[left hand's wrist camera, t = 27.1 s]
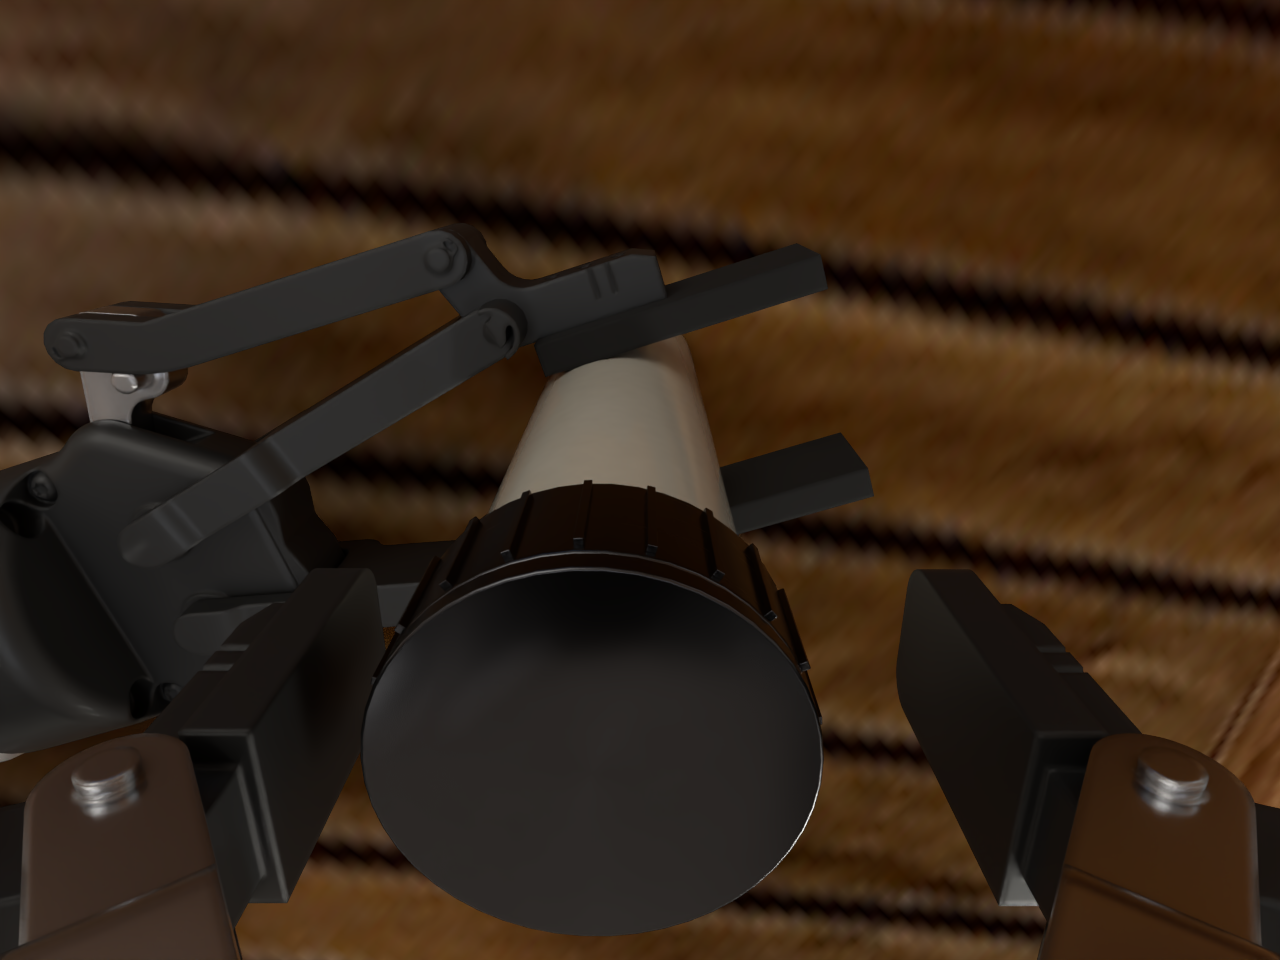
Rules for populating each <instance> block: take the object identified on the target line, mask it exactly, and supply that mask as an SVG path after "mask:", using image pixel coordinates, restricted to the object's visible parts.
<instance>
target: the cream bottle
mask: <svg viewBox="0 0 1280 960" xmlns="http://www.w3.org/2000/svg"><path fill="white" fill-rule="evenodd" d="M584 480H593V484H619V485H627V486H635V487H641V488H645V489H646V488H647V486H653V487H656V491H657V492H660V493H664V494H667V495H670V496H672V497H675V498H677V499H680V500H683V501H685V502H688V503H690V504H692V505H694V506H695V507H697V508H699V509H701V510H704V509H705V508H708V509H710V510H711V511H713V516H714V517H715V518H716V519H717V520H719V521H720V522H722V523H723V524H724V525H726V526H727V527H728V528H730V529H731V530H732V531H733V532H735V533H736V530H735V526H734V522H733V518H732V514H731V510H730V506H729V502H728V498H727V494H726V490H725V486H724V482H723V478H722V474H721V471H720V467H719V463H718V459H717V455H716V451H715V447H714V443H713V439H712V435H711V431H710V427H709V423H708V419H707V415H706V412H705V408H704V404H703V400H702V396H701V392H700V388H699V384H698V380H697V376H696V372H695V368H694V364H693V360H692V357H691V353H690V350H689V347H688V345H687V342H686V341H685V339H684V337H683V335H678V336H675V337H672V338H669V339H666V340H662V341H659V342H656V343H653V344H650V345H646V346H643V347H640V348H637V349H634V350H630V351H627V352H624V353H621V354H618V355H614V356H611V357H608V358H605V359H602V360H598V361H595V362H592V363H589V364H585V365H582V366H579V367H576V368H573V369H570V370H566V371H563V372H560V373H557V374H554V375H550V376H549V377H548V380H547V382H546V384H545V386H544V388H543V391H542V393H541V395H540V397H539V400H538V402H537V404H536V406H535V409H534V411H533V413H532V415H531V418H530V420H529V422H528V424H527V427H526V429H525V431H524V433H523V436H522V438H521V440H520V442H519V445H518V447H517V449H516V451H515V454H514V456H513V458H512V460H511V463H510V465H509V467H508V469H507V472H506V474H505V476H504V478H503V481H502V483H501V485H500V487H499V490H498V492H497V494H496V496H495V499H494V501H493V503H492V505H491V508H490V510H489V512H488V514H489V513H490V512H492V511H494V510H496V509H498V508H500V507H501V506H503V505H505V504H507V503H509V502H511V501H514V500H516V499H519V498H521V495H522V493H523V492H525V491H528V490H530V491H531V493H535V492H539V491H543V490H547V489H551V488H556V487H561V486H569V485H577V484H583V482H584ZM736 534H737V533H736Z"/></svg>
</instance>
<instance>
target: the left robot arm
mask: <svg viewBox="0 0 1280 960" xmlns="http://www.w3.org/2000/svg"><path fill="white" fill-rule="evenodd" d="M385 651H386V649H385V642H384V634H383V627H382V620H381V613H380V605H379V598H378V591H377V584H376V580H375V577H374V574H373V572H372V571H371V570H370V569H368V568H315V569H313V570H312V571H311V572H310V573H309V574H308V575H307V576H306V577H305V579H304V580H303V581H302V582H301V583H300V585H299V586H298V587H297V588H296V589H295V591H294V592H293V593H292V594H291V596H290V597H289V598H288V599H287V600H286V602H285V603H272V604H271V605H269V606H268V607H266V608H264V609H263V610H261V611H259V612H258V613H256V614H254V615H253V616H251V617H250V618H248V619H246V620H245V621H243V622H241V623H240V624H239V625H238V627H237V628H236V629H235V630H234V631H233V632H232V633H231V635H230V636H229V637H228V638H227V639H226V640H225V641H224V642H223V644H222V645H221V646H220V651H215V653H214V654H213V655H212V656H211V657H210V658H209V659H208V660H207V662H206V663H205V664H204V665H203V670H202V671H198V672H197V673H196V674H195V675H194V676H193V677H192V679H191V680H190V681H189V682H188V683H187V684H186V685H185V686H184V688H183V689H182V690H181V691H180V692H179V693H178V694H177V696H176V697H175V698H174V699H173V700H172V701H171V702H170V703H169V705H168V706H167V707H166V708H165V709H164V710H163V711H162V712H161V714H160V715H159V716H158V717H157V718H156V719H155V720H154V721H153V723H152V724H151V725H150V726H149V727H148V728H147V729H146V731H145V732H144V733H143V734H134V735H129V736H124V737H119V738H116V739H112V740H109V741H106V742H103V743H100V744H97V745H95V746H92V747H90V748H88V749H86V750H83V751H81V752H79V753H77V754H76V755H74V756H72V757H70V758H68V759H67V760H65V761H64V762H62V763H61V764H59V765H58V766H56V767H55V768H54V769H52V770H51V771H50V772H49V773H48V774H46V775H45V776H44V777H43V778H42V779H41V780H40V781H39V782H38V783H37V784H36V786H35V787H34V788H33V790H32V791H31V792H30V794H29V796H28V798H27V800H26V802H24V803H19V804H14V805H10V806H5V807H0V960H243V958H242V954H241V950H240V945H239V941H238V938H237V934H236V930H235V926H236V925H237V923H238V921H239V919H240V917H241V915H242V913H243V911H244V910H245V908H246V906H247V904H248V903H287V902H288V900H289V898H290V896H291V894H292V892H293V890H294V888H295V886H296V884H297V881H298V879H299V877H300V875H301V873H302V871H303V869H304V867H305V865H306V863H307V861H308V859H309V857H310V855H311V852H312V850H313V848H314V846H315V844H316V842H317V840H318V838H319V836H320V834H321V832H322V830H323V828H324V826H325V823H326V821H327V819H328V817H329V815H330V813H331V811H332V809H333V807H334V805H335V803H336V801H337V799H338V797H339V794H340V792H341V790H342V788H343V786H344V784H345V782H346V780H347V778H348V776H349V774H350V772H351V770H352V768H353V765H354V763H355V761H356V759H357V757H358V755H359V753H360V751H361V728H362V722H363V716H364V710H365V706H366V704H367V701H368V698H369V695H370V692H371V689H372V686H373V685H372V684H370V683H371V679H372V676H373V674H374V672H375V670H376V668H377V667H378V665H379V663H380V661H381V659H382V657H383V655H384V653H385ZM896 678H897V689H898V694H899V699H900V703H901V706H902V708H903V711H904V713H905V715H906V717H907V719H908V721H909V723H910V725H911V727H912V729H913V731H914V733H915V735H916V737H917V739H918V741H919V743H920V745H921V747H922V750H923V752H924V754H925V756H926V758H927V760H928V762H929V764H930V766H931V768H932V770H933V772H934V774H935V776H936V778H937V780H938V782H939V784H940V786H941V788H942V790H943V792H944V794H945V797H946V799H947V801H948V803H949V805H950V807H951V809H952V811H953V813H954V815H955V817H956V819H957V821H958V823H959V825H960V827H961V829H962V831H963V833H964V835H965V837H966V839H967V841H968V844H969V846H970V848H971V850H972V852H973V854H974V856H975V858H976V860H977V862H978V864H979V866H980V868H981V870H982V872H983V874H984V876H985V878H986V880H987V882H988V884H989V886H990V888H991V891H992V893H993V895H994V897H995V899H996V901H997V903H998V905H999V906H1039V908H1040V910H1041V911H1042V913H1043V915H1044V917H1045V919H1046V921H1047V922H1046V926H1045V930H1044V934H1043V938H1042V941H1041V945H1040V950H1039V954H1038V958H1037V960H1280V809H1279V808H1275V807H1270V806H1265V805H1261V804H1257V803H1254V800H1253V798H1252V796H1251V794H1250V792H1249V791H1248V790H1247V788H1246V787H1245V786H1244V784H1243V783H1242V782H1241V781H1240V780H1239V779H1238V778H1237V777H1236V776H1235V775H1234V774H1232V773H1231V772H1230V771H1229V770H1228V769H1226V768H1225V767H1224V766H1222V765H1221V764H1219V763H1218V762H1216V761H1215V760H1213V759H1212V758H1210V757H1208V756H1206V755H1204V754H1203V753H1201V752H1199V751H1197V750H1194V749H1192V748H1190V747H1188V746H1185V745H1183V744H1180V743H1177V742H1174V741H1171V740H1168V739H1164V738H1161V737H1156V736H1151V735H1146V734H1142V733H1141V732H1140V731H1139V730H1138V728H1137V727H1136V726H1135V725H1134V724H1133V723H1132V722H1131V721H1130V720H1129V718H1128V717H1127V716H1126V715H1125V714H1124V713H1123V712H1122V711H1121V709H1120V708H1119V707H1118V706H1117V705H1116V704H1115V703H1114V702H1113V701H1112V699H1111V698H1110V697H1109V696H1108V695H1107V694H1106V693H1105V692H1104V690H1103V689H1102V688H1101V687H1100V686H1099V685H1098V684H1097V683H1096V682H1095V680H1094V679H1093V678H1092V677H1091V676H1090V675H1089V674H1088V673H1084V672H1083V667H1082V666H1081V665H1080V664H1079V663H1078V661H1077V660H1076V659H1075V658H1074V657H1073V656H1072V655H1071V654H1070V652H1065V647H1064V646H1063V645H1062V643H1061V642H1060V641H1059V640H1058V639H1057V638H1056V637H1055V636H1054V635H1053V633H1052V632H1051V631H1050V630H1049V629H1048V628H1047V627H1046V626H1045V624H1043V623H1041V622H1040V621H1038V620H1037V619H1035V618H1033V617H1032V616H1030V615H1028V614H1027V613H1025V612H1023V611H1022V610H1020V609H1018V608H1017V607H1015V606H1014V605H1012V604H1000V603H999V602H998V600H997V599H996V598H995V597H994V596H993V594H992V593H991V592H990V591H989V590H988V588H987V587H986V586H985V585H984V584H983V582H982V581H981V580H980V579H979V578H978V576H977V575H976V574H975V573H974V572H973V571H971V570H968V569H917V570H915V571H913V573H912V574H911V576H910V579H909V582H908V587H907V594H906V601H905V608H904V615H903V622H902V630H901V637H900V644H899V651H898V658H897V668H896Z"/></svg>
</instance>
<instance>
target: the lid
mask: <svg viewBox="0 0 1280 960" xmlns="http://www.w3.org/2000/svg"><path fill="white" fill-rule="evenodd" d="M394 631H396V633H395V634H394V636H393V638H392V640H391V642H390V644H389V646H388V648H387V650H386V651H385V653H384V655H383V657H382V659H381V661H380V663H379V665H378V667H377V668H376V670H375V672H374V674H373V676H372V679H371V683H370V684H372V685H373V686H372V689H371V692H370V695H369V698H368V701H367V704H366V706H365V710H364V716H363V722H362V728H361V764H362V770H363V776H364V782H365V786H366V789H367V792H368V795H369V798H370V801H371V804H372V807H373V808H374V810H375V812H376V814H377V816H378V818H379V820H380V822H381V824H382V826H383V828H384V830H385V831H386V832H387V834H388V835H389V837H390V838H391V840H392V841H393V843H394V844H395V845H396V847H397V848H398V849H399V850H400V852H401V853H402V854H403V855H404V856H405V857H406V858H407V859H408V860H409V861H410V863H411V864H412V865H413V866H414V867H415V868H416V869H418V870H419V871H420V872H421V873H422V874H423V875H424V876H426V877H427V878H428V879H429V880H430V881H431V882H433V883H434V884H435V885H437V886H438V887H440V888H441V889H443V890H444V891H446V892H447V893H449V894H450V895H451V896H453V897H454V898H456V899H458V900H460V901H462V902H464V903H466V904H467V905H469V906H471V907H473V908H475V909H477V910H479V911H481V912H484V913H486V914H489V915H491V916H493V917H496V918H498V919H501V920H503V921H507V922H510V923H513V924H517V925H520V926H524V927H527V928H531V929H536V930H541V931H547V932H552V933H558V934H568V935H578V936H616V935H628V934H638V933H643V932H648V931H654V930H659V929H664V928H668V927H671V926H674V925H678V924H681V923H685V922H688V921H691V920H693V919H696V918H698V917H701V916H703V915H706V914H708V913H711V912H713V911H715V910H717V909H719V908H720V907H722V906H724V905H726V904H728V903H730V902H732V901H733V900H735V899H737V898H738V897H740V896H741V895H743V894H744V893H746V892H747V891H748V890H750V889H751V888H753V887H754V886H756V885H757V884H758V883H759V882H760V881H761V880H763V879H764V878H765V877H766V876H767V875H768V874H769V873H770V872H772V871H773V870H774V869H775V868H776V867H777V866H778V864H779V863H780V862H781V861H782V860H783V859H784V857H785V856H786V855H787V854H788V853H789V852H790V851H791V849H792V848H793V846H794V845H795V843H796V842H797V840H798V838H799V837H800V835H801V834H802V832H803V831H804V829H805V827H806V825H807V822H808V820H809V818H810V816H811V814H812V811H813V809H814V807H815V803H816V799H817V796H818V792H819V789H820V785H821V779H822V770H823V762H824V754H823V735H822V730H821V726H820V725H821V724H822V716H821V713H820V710H819V706H818V703H817V700H816V697H815V694H814V691H813V688H812V685H811V682H810V679H809V676H808V673H807V670H809V669H810V665H809V662H808V659H807V656H806V653H805V650H804V647H803V644H802V641H801V638H800V635H799V632H798V629H797V626H796V623H795V620H794V617H793V614H792V611H791V608H790V605H789V602H788V599H787V596H786V593H785V591H784V589H780V590H777V588H776V585H775V583H774V581H773V580H772V578H771V576H770V575H769V573H768V571H767V569H766V568H765V566H764V564H763V563H762V562H761V559H760V555H759V552H758V549H757V547H756V546H755V545H754V544H753V543H752V544H751V545H749V546H748V545H747V544H746V543H745V542H744V541H743V540H742V539H741V538H740V537H739V536H738V535H737V534H736V533H735V532H733V531H732V530H731V529H730V528H728V527H727V526H726V525H724V524H723V523H722V522H720V521H719V520H717V519H716V518H715V517H714V516H713V511H711V510H710V509H708V508H705V509H704V510H701V509H699V508H697V507H695V506H694V505H692V504H690V503H688V502H685V501H683V500H680V499H677V498H675V497H672V496H670V495H667V494H664V493H660V492H657V491H656V487H653V486H647V488H646V489H645V488H641V487H635V486H627V485H619V484H593V480H584V482H583V484H577V485H569V486H561V487H556V488H551V489H547V490H543V491H539V492H535V493H531V491H530V490H528V491H525V492H523V493H522V495H521V498H519V499H516V500H514V501H511V502H509V503H507V504H505V505H503V506H501V507H500V508H498V509H496V510H494V511H492V512H490V513H489V514H487V515H485V516H484V517H483V518H481V519H480V520H479V519H478V518H477V517H474V518H473V519H471V520H470V521H469V523H468V525H467V527H466V530H465V532H464V533H463V534H461V535H460V536H459V537H458V538H457V539H456V540H455V541H454V542H453V543H452V544H451V545H450V547H449V548H448V549H447V550H446V552H445V553H444V554H443V556H442V557H441V558H439V557H437V556H436V555H435V556H434V557H433V559H432V560H431V562H430V564H429V566H428V568H427V570H426V571H425V573H424V575H423V577H422V579H421V581H420V583H419V584H418V586H417V588H416V590H415V592H414V594H413V596H412V598H411V599H410V601H409V603H408V605H407V607H406V609H405V611H404V613H403V614H402V616H401V618H400V620H399V622H398V624H397V626H396V627H395V629H394Z"/></svg>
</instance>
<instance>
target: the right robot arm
mask: <svg viewBox="0 0 1280 960" xmlns="http://www.w3.org/2000/svg"><path fill="white" fill-rule="evenodd" d="M826 289H828V287H827V283H826V278H825V274H824V269H823V265H822V260H821V256H820V254H818V253H816V252H814V251H812V250H810V249H807V248H805V247H803V246H801V245H799V244H797V243H796V244H793V245H790V246H787V247H784V248H781V249H778V250H775V251H771V252H768V253H765V254H762V255H759V256H756V257H753V258H750V259H746V260H743V261H740V262H737V263H734V264H731V265H728V266H725V267H721V268H718V269H715V270H712V271H709V272H706V273H703V274H700V275H696V276H693V277H690V278H687V279H684V280H681V281H678V282H675V283H671V284H668V285H664V281H663V278H662V275H661V271H660V268H659V265H658V261H657V258H656V254H655V251H654V250H646V249H634V248H631V249H628V250H625V251H622V252H619V253H616V254H613V255H610V256H607V257H604V258H601V259H598V260H595V261H592V262H588V263H585V264H582V265H579V266H576V267H573V268H570V269H567V270H564V271H561V272H558V273H555V274H552V275H549V276H546V277H543V278H539V279H534V280H527V279H522V278H518V277H516V276H514V275H512V274H511V273H509V272H508V271H507V270H506V269H505V268H504V267H503V266H502V265H501V263H500V262H499V261H498V260H497V258H496V257H495V256H494V255H493V253H492V252H491V251H490V250H489V248H488V247H487V245H486V241H485V239H484V237H483V235H482V234H481V232H480V231H478V230H477V229H476V228H475V227H474V226H471V225H468V224H465V223H457V224H452V225H448V226H445V227H442V228H438V229H435V230H432V231H428V232H425V233H422V234H419V235H416V236H413V237H410V238H406V239H403V240H400V241H397V242H394V243H391V244H388V245H384V246H381V247H378V248H375V249H372V250H369V251H366V252H362V253H359V254H356V255H353V256H350V257H347V258H344V259H340V260H337V261H334V262H331V263H328V264H325V265H322V266H319V267H315V268H312V269H309V270H306V271H303V272H300V273H297V274H293V275H290V276H287V277H284V278H281V279H278V280H275V281H271V282H268V283H265V284H262V285H259V286H256V287H253V288H249V289H246V290H243V291H240V292H237V293H234V294H231V295H227V296H224V297H221V298H218V299H215V300H212V301H209V302H205V303H202V304H199V305H186V304H169V303H153V302H137V301H128V302H121V303H117V304H114V305H110V306H106V307H101V308H98V309H94V310H90V311H86V312H82V313H79V314H75V315H71V316H67V317H63V318H60V319H56V320H54V321H53V322H51V323H50V324H48V326H47V328H46V330H45V332H44V345H45V347H46V350H47V352H48V354H49V355H50V356H51V357H52V359H53V360H54V361H55V362H56V363H58V364H59V365H61V366H62V367H64V368H66V369H70V370H74V371H80V374H81V378H82V383H83V388H84V393H85V398H86V403H87V408H88V413H89V418H90V423H88V424H85V425H84V426H82V427H81V428H79V429H78V430H77V431H75V432H74V433H73V434H72V435H71V437H70V438H69V440H68V441H67V443H66V444H65V446H64V447H63V448H62V449H61V450H60V451H59V452H56V453H53V454H50V455H47V456H44V457H41V458H38V459H35V460H31V461H28V462H25V463H22V464H19V465H16V466H13V467H10V468H7V469H4V470H1V471H0V762H3V761H7V760H11V759H13V758H15V757H17V756H19V755H21V754H23V753H29V752H34V751H38V750H43V749H47V748H51V747H54V746H58V745H61V744H65V743H69V742H72V741H76V740H79V739H83V738H87V737H90V736H94V735H97V734H101V733H105V732H108V731H112V730H115V729H119V728H123V727H126V726H130V725H133V724H137V723H140V722H143V721H146V720H148V719H151V718H154V717H156V716H159V715H160V714H161V712H162V711H163V710H164V709H165V708H166V707H167V706H168V705H169V703H170V702H171V701H172V700H173V699H174V698H175V697H176V696H177V694H178V693H179V692H180V691H181V690H182V689H183V688H184V686H185V685H186V684H187V683H188V682H189V681H190V680H191V679H192V677H193V676H194V675H195V674H196V673H197V672H198V671H202V670H203V665H204V664H205V663H206V662H207V660H208V659H209V658H210V657H211V656H212V655H213V654H214V653H215V651H220V646H221V645H222V644H223V642H224V641H225V640H226V639H227V638H228V637H229V636H230V635H231V633H232V632H233V631H234V630H235V629H236V628H237V627H238V625H239V624H240V623H241V622H243V621H245V620H246V619H248V618H250V617H251V616H253V615H254V614H256V613H258V612H259V611H261V610H263V609H264V608H266V607H268V606H269V605H271V604H272V603H285V602H286V600H287V599H288V598H289V597H290V596H291V594H292V593H293V592H294V591H295V589H296V588H297V587H298V586H299V585H300V583H301V582H302V581H303V580H304V579H305V577H306V576H307V575H308V574H309V573H310V572H311V571H312V570H313V569H315V568H368V569H370V570H371V571H372V572H373V574H374V577H375V580H376V584H377V591H378V598H379V605H380V613H381V620H382V627H393V626H397V624H398V622H399V620H400V618H401V616H402V614H403V613H404V611H405V609H406V607H407V605H408V603H409V601H410V599H411V598H412V596H413V594H414V592H415V590H416V588H417V586H418V584H419V583H420V581H421V579H422V577H423V575H424V573H425V571H426V570H427V568H428V566H429V564H430V562H431V560H432V559H433V557H434V556H435V555H436V556H437V557H439V558H441V557H442V556H443V554H444V553H445V552H446V550H447V549H448V548H449V547H450V545H451V544H452V543H453V542H454V541H455V540H452V541H438V542H425V543H411V544H398V545H382V544H380V543H379V541H377V540H372V539H367V540H353V541H340V542H338V541H337V539H336V537H335V535H334V534H333V533H332V532H331V531H330V530H329V529H328V527H327V526H326V525H325V524H324V523H323V522H322V520H321V519H320V518H319V517H318V516H317V514H316V513H315V510H314V505H313V500H312V496H311V491H310V486H309V484H308V482H307V480H306V478H305V476H307V475H308V474H310V473H312V472H313V471H315V470H317V469H318V468H320V467H322V466H323V465H325V464H327V463H328V462H330V461H332V460H333V459H335V458H337V457H338V456H340V455H342V454H343V453H345V452H347V451H349V450H350V449H352V448H354V447H355V446H357V445H359V444H360V443H362V442H364V441H365V440H367V439H369V438H370V437H372V436H374V435H375V434H377V433H379V432H380V431H382V430H384V429H385V428H387V427H389V426H390V425H392V424H394V423H395V422H397V421H399V420H400V419H402V418H404V417H405V416H407V415H409V414H410V413H412V412H414V411H416V410H417V409H419V408H421V407H422V406H424V405H426V404H427V403H429V402H431V401H432V400H434V399H436V398H437V397H439V396H441V395H442V394H444V393H446V392H447V391H449V390H451V389H452V388H454V387H456V386H457V385H459V384H461V383H462V382H464V381H466V380H467V379H469V378H471V377H472V376H474V375H476V374H477V373H479V372H481V371H483V370H484V369H486V368H488V367H489V366H491V365H493V364H494V363H496V362H498V361H499V360H501V359H503V358H504V357H506V358H507V360H508V359H509V358H510V357H511V356H512V355H514V354H515V353H516V351H517V350H518V348H519V347H522V346H525V345H528V344H531V343H534V342H536V343H535V345H534V347H535V349H536V352H537V355H538V357H539V360H540V363H541V366H542V368H543V371H544V374H545V377H547V376H550V375H554V374H557V373H560V372H563V371H566V370H570V369H573V368H576V367H579V366H582V365H585V364H589V363H592V362H595V361H598V360H602V359H605V358H608V357H611V356H614V355H618V354H621V353H624V352H627V351H630V350H634V349H637V348H640V347H643V346H646V345H650V344H653V343H656V342H659V341H662V340H666V339H669V338H672V337H675V336H678V335H682V334H685V333H688V332H691V331H694V330H698V329H701V328H704V327H707V326H710V325H714V324H717V323H720V322H723V321H727V320H730V319H733V318H736V317H739V316H743V315H746V314H749V313H752V312H755V311H759V310H762V309H765V308H768V307H771V306H775V305H778V304H781V303H784V302H787V301H791V300H794V299H797V298H800V297H803V296H807V295H810V294H813V293H816V292H819V291H823V290H826ZM437 290H439V291H440V292H441V293H442V294H443V295H444V297H445V298H446V299H447V300H448V301H449V303H450V304H451V305H452V306H453V307H454V308H455V310H456V311H457V312H458V313H459V314H460V315H459V316H458V317H456V318H454V319H453V320H451V321H450V322H448V323H446V324H445V325H443V326H441V327H440V328H438V329H437V330H435V331H433V332H432V333H430V334H429V335H427V336H425V337H424V338H422V339H420V340H419V341H417V342H416V343H414V344H412V345H411V346H409V347H407V348H406V349H404V350H403V351H401V352H399V353H398V354H396V355H394V356H393V357H391V358H390V359H388V360H386V361H385V362H383V363H381V364H380V365H378V366H377V367H375V368H373V369H372V370H370V371H369V372H367V373H365V374H364V375H362V376H360V377H359V378H357V379H356V380H354V381H352V382H351V383H349V384H347V385H346V386H344V387H343V388H341V389H339V390H338V391H336V392H334V393H333V394H331V395H330V396H328V397H326V398H325V399H323V400H321V401H320V402H318V403H317V404H315V405H313V406H312V407H310V408H308V409H307V410H304V411H303V412H301V413H299V414H298V415H296V416H294V417H293V418H291V419H289V420H288V421H286V422H285V423H283V424H281V425H280V426H278V427H276V428H275V429H273V430H272V431H270V432H268V433H267V434H265V435H263V436H262V437H260V438H259V439H257V440H255V441H251V440H248V439H244V438H241V437H238V436H234V435H231V434H228V433H224V432H221V431H218V430H214V429H211V428H207V427H204V426H201V425H197V424H194V423H191V422H187V421H184V420H181V419H177V418H174V417H170V416H167V415H164V414H160V413H157V412H154V411H152V403H153V400H154V398H155V397H158V396H160V395H162V394H164V393H166V392H168V391H170V390H173V389H175V388H177V387H178V386H180V385H182V384H183V382H184V381H185V380H186V377H187V374H188V367H191V366H194V365H198V364H201V363H204V362H207V361H211V360H214V359H217V358H220V357H224V356H227V355H230V354H233V353H236V352H240V351H243V350H246V349H249V348H253V347H256V346H259V345H262V344H265V343H269V342H272V341H275V340H278V339H282V338H285V337H288V336H291V335H295V334H298V333H301V332H304V331H307V330H311V329H314V328H317V327H320V326H324V325H327V324H330V323H333V322H336V321H340V320H343V319H346V318H349V317H353V316H356V315H359V314H362V313H366V312H369V311H372V310H375V309H378V308H382V307H385V306H388V305H391V304H395V303H398V302H401V301H404V300H408V299H411V298H414V297H417V296H420V295H424V294H427V293H430V292H433V291H437ZM720 471H721V474H722V478H723V482H724V486H725V490H726V494H727V498H728V502H729V506H730V510H731V514H732V518H733V522H734V526H735V530H736V533H737V535H738V536H739V534H740V533H744V532H748V531H751V530H755V529H758V528H762V527H765V526H769V525H773V524H776V523H780V522H783V521H787V520H790V519H794V518H798V517H801V516H805V515H808V514H812V513H815V512H819V511H823V510H826V509H830V508H833V507H837V506H840V505H844V504H848V503H851V502H855V501H858V500H862V499H865V498H869V497H873V496H874V494H873V489H872V485H871V480H870V476H869V471H868V468H867V466H866V465H865V464H864V463H863V461H862V460H861V459H860V457H859V456H858V455H857V453H856V452H855V451H854V449H853V448H852V447H851V445H850V444H849V443H848V441H847V440H846V439H845V438H844V436H843V435H842V434H841V433H837V434H834V435H830V436H827V437H823V438H820V439H816V440H813V441H810V442H806V443H803V444H799V445H796V446H792V447H789V448H785V449H782V450H779V451H775V452H772V453H768V454H765V455H761V456H758V457H754V458H751V459H747V460H744V461H741V462H737V463H734V464H730V465H727V466H723V467H720Z"/></svg>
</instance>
